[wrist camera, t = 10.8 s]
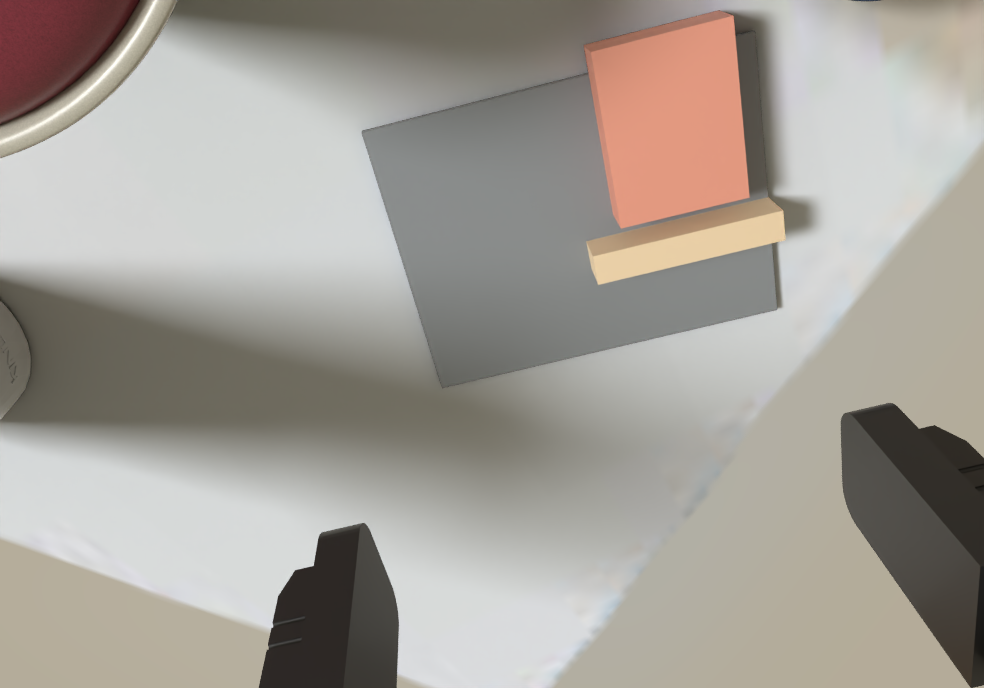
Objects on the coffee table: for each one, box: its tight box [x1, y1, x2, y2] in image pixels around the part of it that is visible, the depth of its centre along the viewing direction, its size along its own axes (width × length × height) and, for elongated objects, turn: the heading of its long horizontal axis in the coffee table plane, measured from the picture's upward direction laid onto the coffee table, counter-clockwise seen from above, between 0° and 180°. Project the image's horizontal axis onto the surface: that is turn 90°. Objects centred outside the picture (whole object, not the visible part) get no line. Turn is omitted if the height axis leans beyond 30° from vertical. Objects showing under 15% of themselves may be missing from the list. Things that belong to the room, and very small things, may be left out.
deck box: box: [584, 10, 750, 229], centre depth 37 cm, size 6×2×8 cm
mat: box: [362, 31, 785, 388], centre depth 39 cm, size 18×14×2 cm
